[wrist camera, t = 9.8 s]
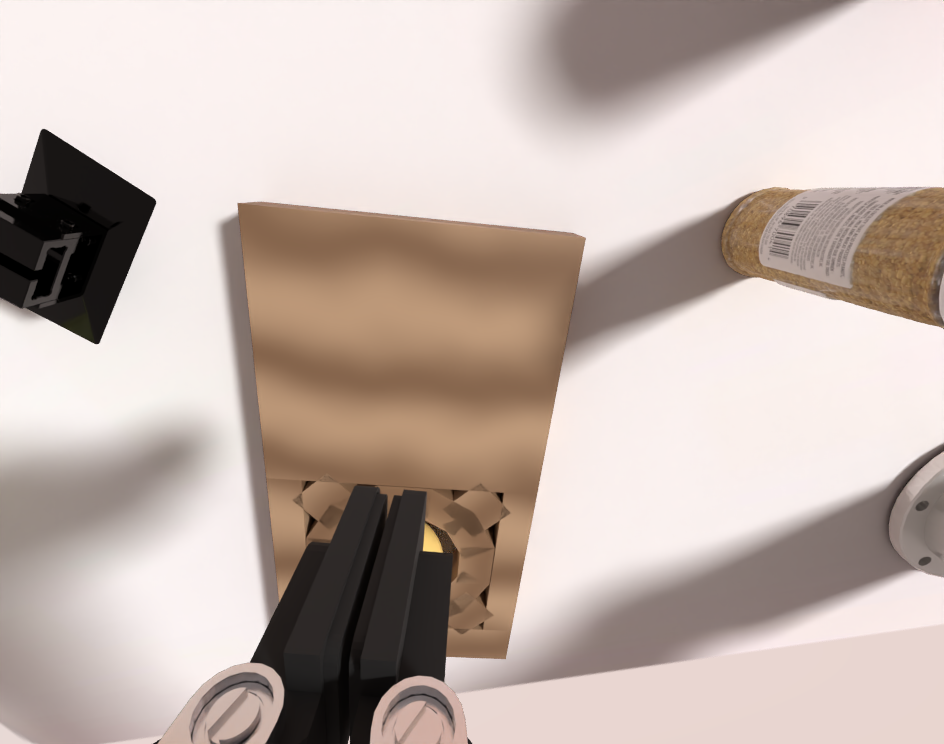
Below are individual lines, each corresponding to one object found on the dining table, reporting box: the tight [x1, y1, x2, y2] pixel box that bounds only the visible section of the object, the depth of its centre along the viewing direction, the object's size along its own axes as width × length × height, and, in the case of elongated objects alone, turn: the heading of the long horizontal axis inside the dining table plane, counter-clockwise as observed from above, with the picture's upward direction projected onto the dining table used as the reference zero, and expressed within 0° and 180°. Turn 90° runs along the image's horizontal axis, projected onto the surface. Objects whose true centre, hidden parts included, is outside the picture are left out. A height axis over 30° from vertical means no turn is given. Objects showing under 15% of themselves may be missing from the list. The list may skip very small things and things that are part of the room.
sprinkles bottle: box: [721, 187, 944, 329], centre depth 17 cm, size 5×4×13 cm
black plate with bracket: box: [0, 129, 156, 344], centre depth 21 cm, size 12×7×5 cm, turn 144°
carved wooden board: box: [238, 202, 586, 659], centre depth 27 cm, size 30×16×2 cm, turn 174°
